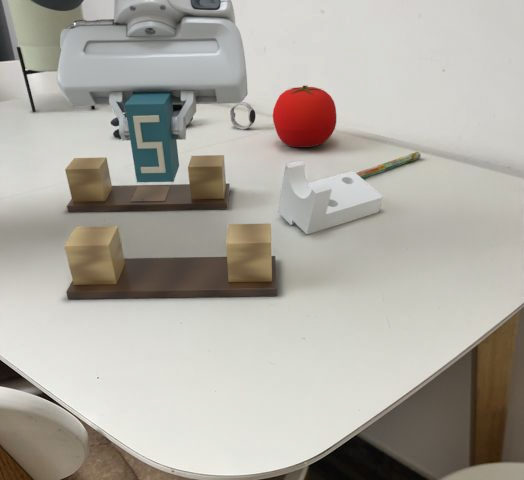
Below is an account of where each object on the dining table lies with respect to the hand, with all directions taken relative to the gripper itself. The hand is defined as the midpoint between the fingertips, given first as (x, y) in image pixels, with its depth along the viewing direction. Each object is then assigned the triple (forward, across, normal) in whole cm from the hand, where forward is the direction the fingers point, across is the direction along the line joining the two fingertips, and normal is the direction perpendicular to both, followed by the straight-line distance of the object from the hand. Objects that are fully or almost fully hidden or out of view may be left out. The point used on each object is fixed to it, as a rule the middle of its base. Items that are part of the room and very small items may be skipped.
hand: (153, 137), depth 61 cm
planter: (-47, -36, +70) cm, 92 cm away
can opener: (-31, -12, +55) cm, 64 cm away
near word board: (+13, +1, +10) cm, 16 cm away
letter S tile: (+2, 0, +3) cm, 4 cm away
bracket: (+1, +21, +22) cm, 31 cm away
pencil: (-13, +32, +35) cm, 49 cm away
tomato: (-23, +19, +46) cm, 55 cm away
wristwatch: (-32, +7, +54) cm, 63 cm away
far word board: (-5, -6, +28) cm, 29 cm away
